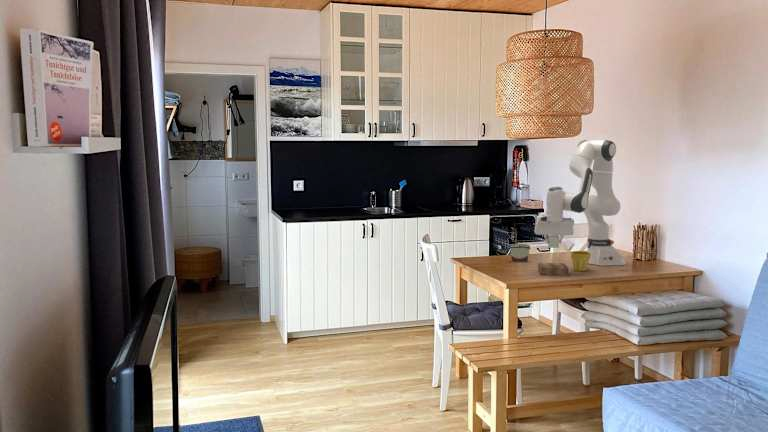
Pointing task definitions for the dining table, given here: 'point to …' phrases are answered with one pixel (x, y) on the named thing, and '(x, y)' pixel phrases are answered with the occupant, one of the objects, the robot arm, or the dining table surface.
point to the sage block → (553, 241)
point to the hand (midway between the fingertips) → (553, 243)
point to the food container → (519, 252)
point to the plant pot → (580, 260)
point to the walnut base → (553, 269)
